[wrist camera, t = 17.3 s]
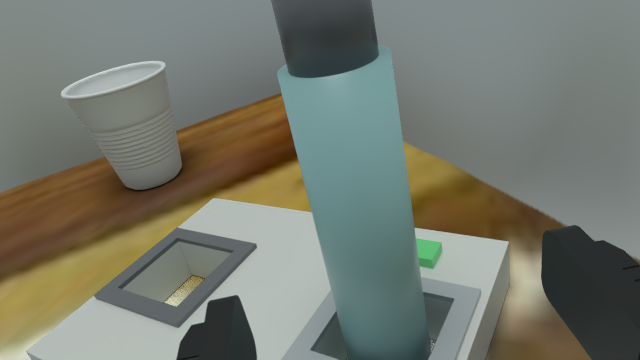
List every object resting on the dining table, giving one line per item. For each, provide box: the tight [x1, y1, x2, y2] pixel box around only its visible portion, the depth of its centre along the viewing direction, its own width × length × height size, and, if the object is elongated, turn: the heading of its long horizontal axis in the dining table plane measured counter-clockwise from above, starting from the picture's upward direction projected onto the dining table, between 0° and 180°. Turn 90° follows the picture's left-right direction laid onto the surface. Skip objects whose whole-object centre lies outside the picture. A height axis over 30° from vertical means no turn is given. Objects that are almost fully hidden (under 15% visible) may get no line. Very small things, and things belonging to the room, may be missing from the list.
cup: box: [61, 61, 182, 190], centre depth 49 cm, size 10×10×11 cm
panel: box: [26, 198, 510, 360], centre depth 27 cm, size 16×22×4 cm
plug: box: [271, 0, 431, 360], centre depth 20 cm, size 4×4×19 cm
